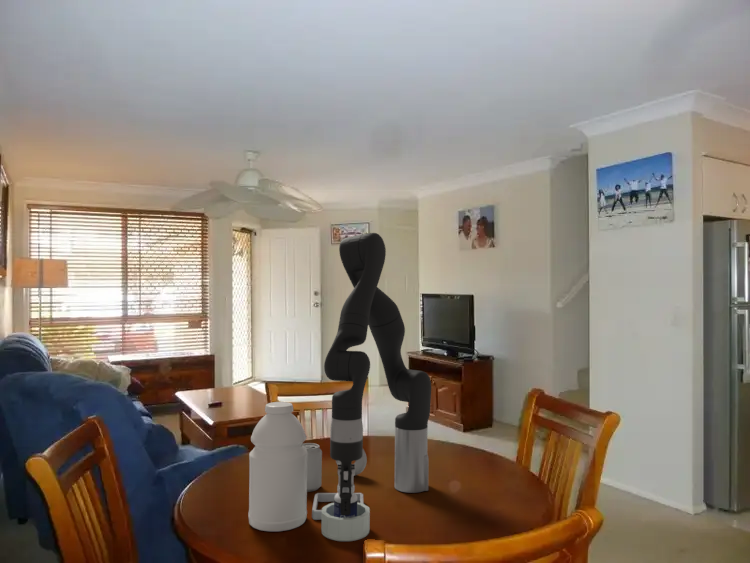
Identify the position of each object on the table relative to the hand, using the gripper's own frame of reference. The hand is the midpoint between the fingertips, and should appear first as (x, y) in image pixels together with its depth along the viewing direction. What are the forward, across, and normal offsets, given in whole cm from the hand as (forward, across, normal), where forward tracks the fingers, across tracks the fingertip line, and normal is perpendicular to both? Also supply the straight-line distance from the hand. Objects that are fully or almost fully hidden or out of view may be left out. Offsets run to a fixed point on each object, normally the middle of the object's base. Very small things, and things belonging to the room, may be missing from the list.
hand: (345, 507), depth 132 cm
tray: (+5, +13, +2) cm, 14 cm away
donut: (+6, +40, -1) cm, 40 cm away
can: (+6, +29, +11) cm, 32 cm away
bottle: (+6, +6, +16) cm, 18 cm away
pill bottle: (+5, 0, 0) cm, 5 cm away
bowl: (+5, 0, 0) cm, 5 cm away
